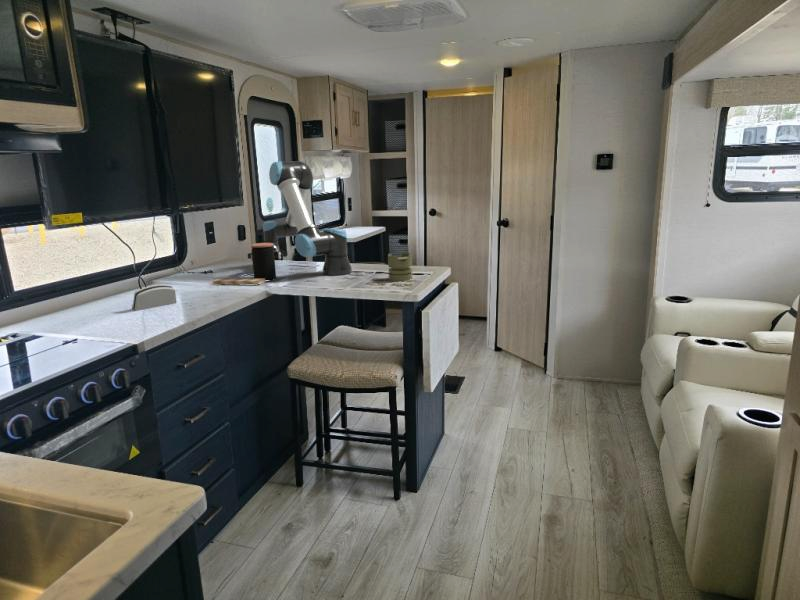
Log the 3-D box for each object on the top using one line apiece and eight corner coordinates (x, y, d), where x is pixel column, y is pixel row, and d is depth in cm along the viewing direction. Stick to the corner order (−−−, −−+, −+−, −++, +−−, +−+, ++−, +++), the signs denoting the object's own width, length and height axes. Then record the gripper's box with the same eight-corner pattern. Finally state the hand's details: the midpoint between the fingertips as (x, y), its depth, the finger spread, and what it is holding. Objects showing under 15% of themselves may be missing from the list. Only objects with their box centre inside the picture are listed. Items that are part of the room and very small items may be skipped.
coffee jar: (279, 277, 269) (276, 242, 265) (272, 281, 259) (268, 245, 255) (258, 278, 270) (255, 242, 266) (251, 282, 260) (247, 245, 256)
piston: (385, 253, 257) (407, 252, 260) (386, 278, 259) (407, 275, 263) (391, 256, 246) (414, 255, 249) (392, 282, 249) (415, 279, 252)
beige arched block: (172, 301, 224) (172, 280, 220) (177, 306, 222) (177, 285, 217) (130, 309, 213) (130, 287, 208) (135, 314, 210) (135, 292, 206)
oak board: (265, 282, 258) (264, 278, 258) (258, 285, 252) (258, 280, 251) (220, 281, 263) (220, 277, 263) (213, 284, 257) (212, 280, 256)
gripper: (293, 257, 294) (290, 263, 274) (247, 259, 291) (241, 265, 271) (292, 243, 293) (289, 248, 272) (246, 246, 290) (239, 251, 269)
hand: (265, 257), depth 271 cm, fingers open, 13 cm apart
